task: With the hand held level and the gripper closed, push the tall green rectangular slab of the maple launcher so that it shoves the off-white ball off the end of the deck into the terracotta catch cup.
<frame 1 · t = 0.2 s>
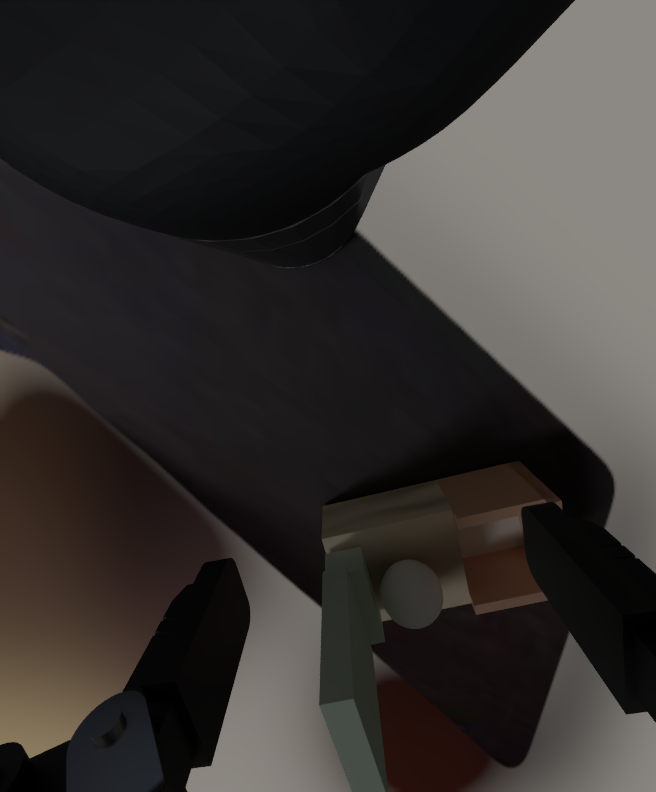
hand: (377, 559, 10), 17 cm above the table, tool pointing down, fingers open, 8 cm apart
catch cup: (485, 514, 30), on the table
ball: (411, 592, 25), point 6 cm above the table, touching launcher
green rectangular slab: (359, 651, 22), point 9 cm above the table, slide at 0.0 cm
launcher: (426, 527, 30), on the table
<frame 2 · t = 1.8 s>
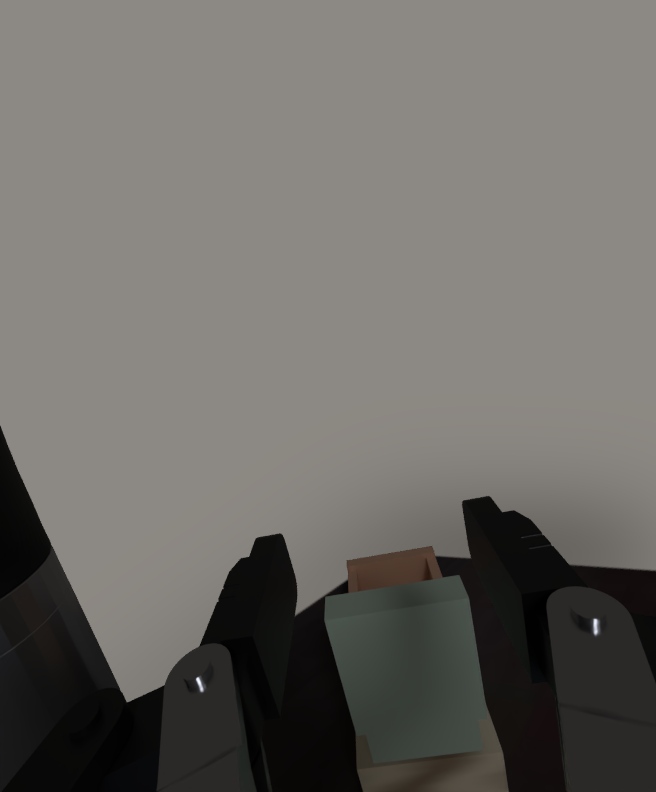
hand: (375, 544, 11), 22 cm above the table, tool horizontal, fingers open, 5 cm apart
catch cup: (404, 629, 33), on the table
green rectangular slab: (408, 664, 21), point 9 cm above the table, slide at 0.0 cm
launcher: (414, 681, 29), on the table
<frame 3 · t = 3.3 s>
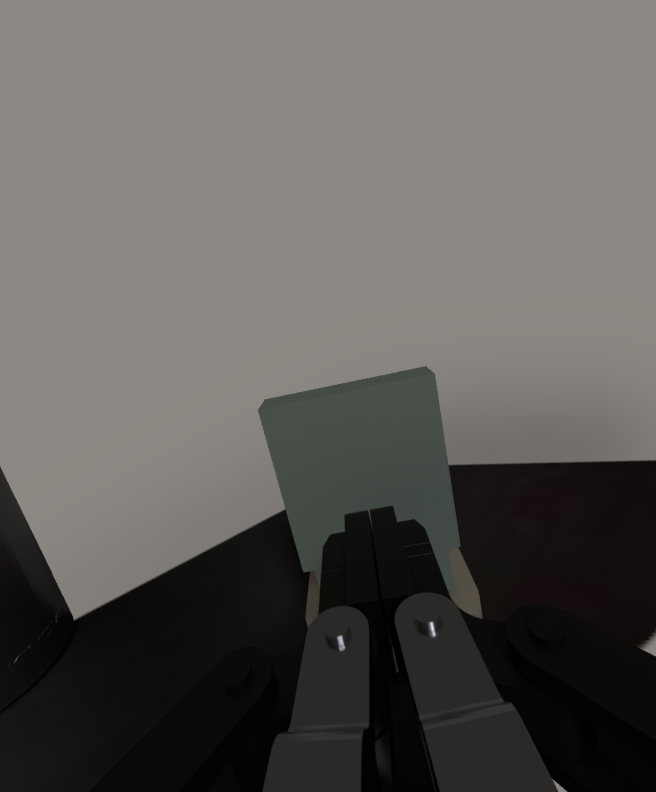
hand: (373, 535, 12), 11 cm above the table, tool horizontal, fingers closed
green rectangular slab: (366, 489, 17), point 9 cm above the table, slide at 0.0 cm
launcher: (386, 563, 26), on the table
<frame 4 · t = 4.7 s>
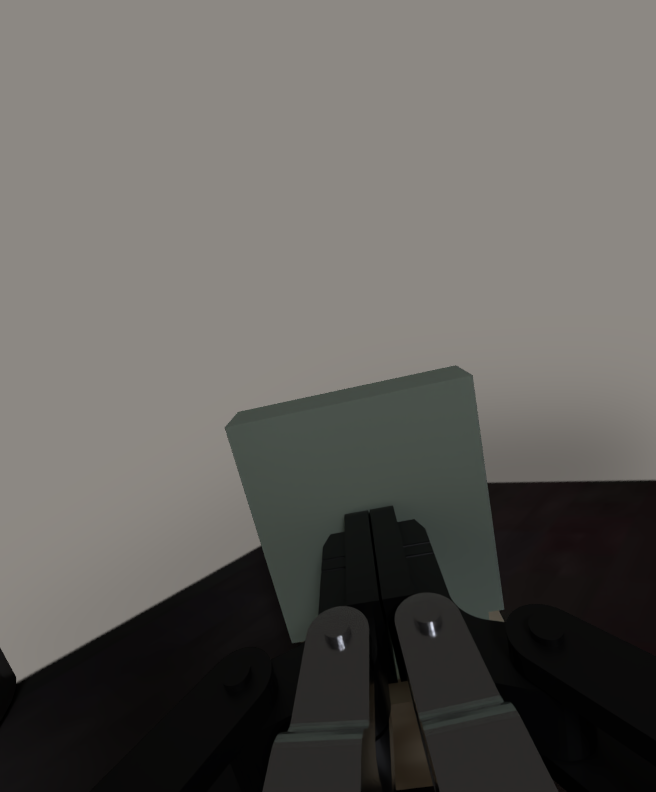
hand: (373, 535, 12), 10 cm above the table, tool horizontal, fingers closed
green rectangular slab: (375, 530, 13), point 9 cm above the table, slide at 0.6 cm, touching ball, gripper
launcher: (398, 614, 21), on the table
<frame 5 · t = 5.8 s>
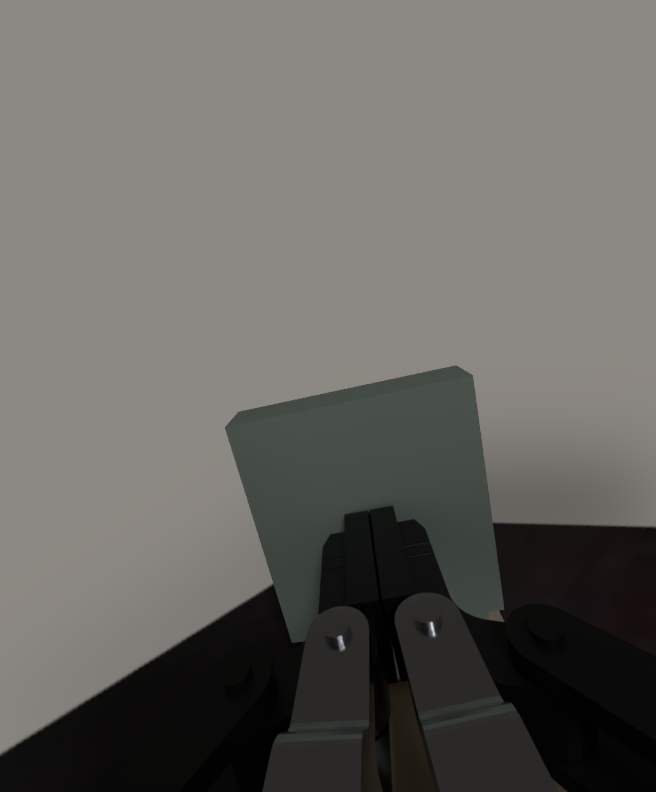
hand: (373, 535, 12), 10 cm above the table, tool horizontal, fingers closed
green rectangular slab: (375, 530, 13), point 9 cm above the table, slide at 6.4 cm, touching gripper
launcher: (420, 733, 15), on the table
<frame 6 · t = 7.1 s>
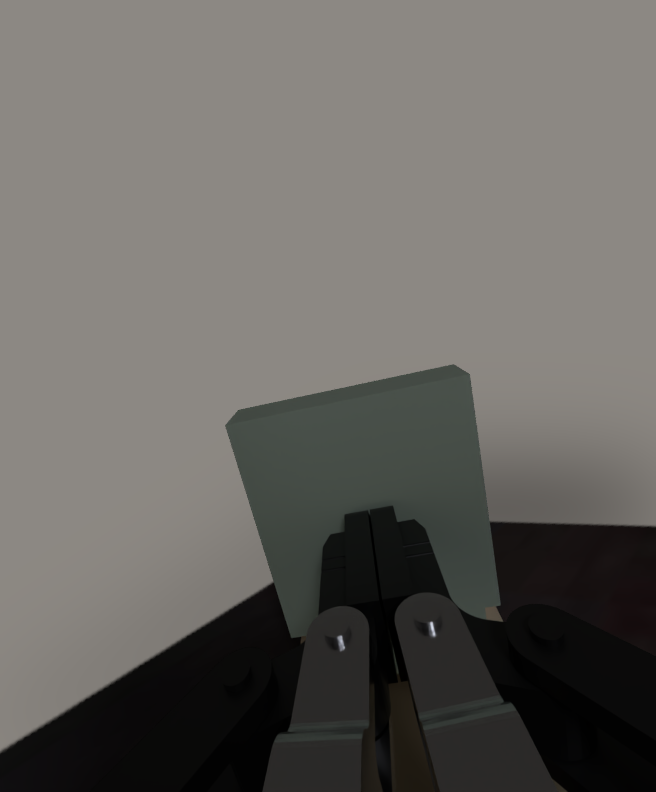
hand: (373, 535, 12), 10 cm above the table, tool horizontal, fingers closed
green rectangular slab: (374, 527, 13), point 9 cm above the table, slide at 6.5 cm
launcher: (419, 731, 15), on the table
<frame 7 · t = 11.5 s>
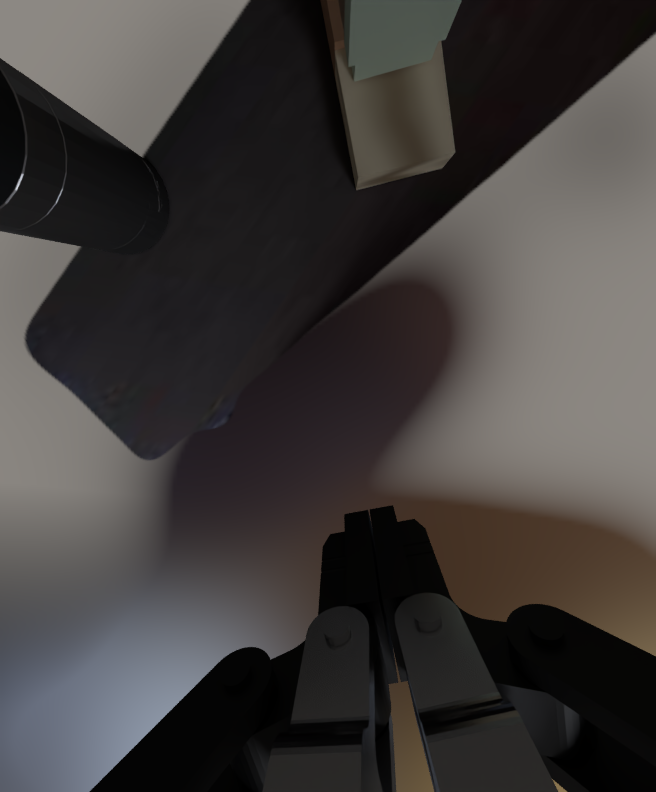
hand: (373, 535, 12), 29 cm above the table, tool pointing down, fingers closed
catch cup: (373, 23, 32), on the table
green rectangular slab: (399, 3, 24), point 9 cm above the table, slide at 6.5 cm
launcher: (383, 86, 33), on the table
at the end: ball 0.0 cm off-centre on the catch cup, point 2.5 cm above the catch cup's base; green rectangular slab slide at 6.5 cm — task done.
